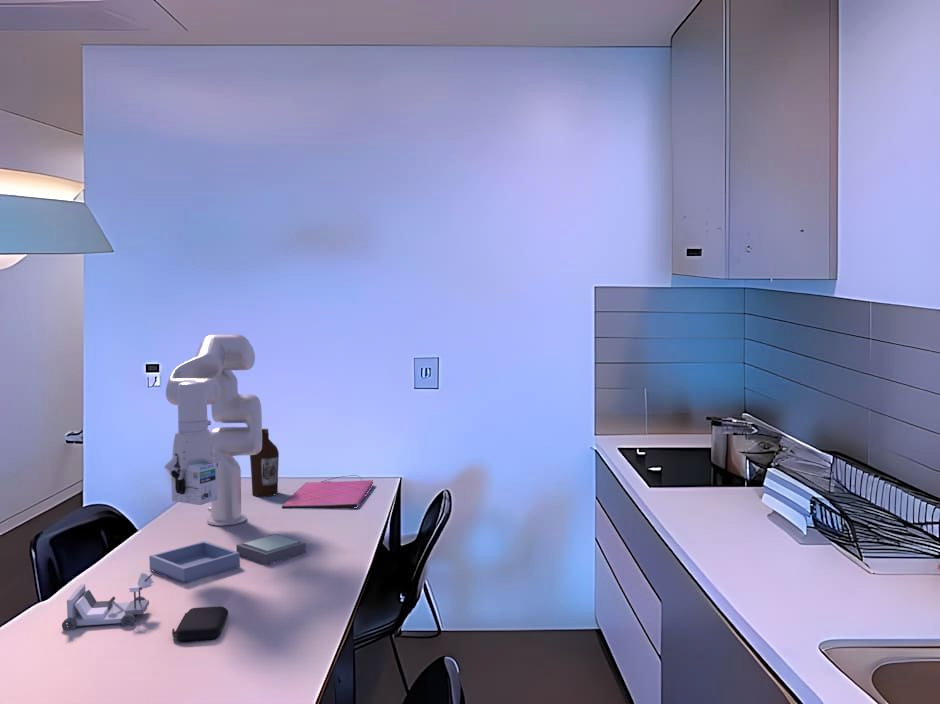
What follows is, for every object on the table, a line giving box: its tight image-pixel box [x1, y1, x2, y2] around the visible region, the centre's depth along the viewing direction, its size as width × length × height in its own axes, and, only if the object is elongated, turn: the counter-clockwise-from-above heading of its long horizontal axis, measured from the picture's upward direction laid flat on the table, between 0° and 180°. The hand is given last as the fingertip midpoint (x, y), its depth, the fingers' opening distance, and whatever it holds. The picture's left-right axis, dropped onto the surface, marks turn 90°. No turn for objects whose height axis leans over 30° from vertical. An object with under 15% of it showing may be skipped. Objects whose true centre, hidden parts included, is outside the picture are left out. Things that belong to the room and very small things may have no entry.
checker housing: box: [235, 533, 307, 566], centre depth 228 cm, size 14×14×3 cm
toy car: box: [61, 572, 155, 631], centre depth 181 cm, size 18×10×12 cm
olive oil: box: [249, 428, 280, 498], centre depth 299 cm, size 11×11×25 cm
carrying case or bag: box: [171, 605, 229, 643], centre depth 175 cm, size 11×3×15 cm
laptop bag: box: [281, 474, 374, 509], centre depth 298 cm, size 40×4×27 cm
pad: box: [243, 534, 299, 553], centre depth 228 cm, size 11×11×2 cm
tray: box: [148, 540, 241, 585], centre depth 215 cm, size 17×17×4 cm
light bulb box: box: [170, 462, 218, 506], centre depth 214 cm, size 11×7×11 cm, turn 65°
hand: (194, 490), depth 214 cm, fingers closed on light bulb box, 7 cm apart
